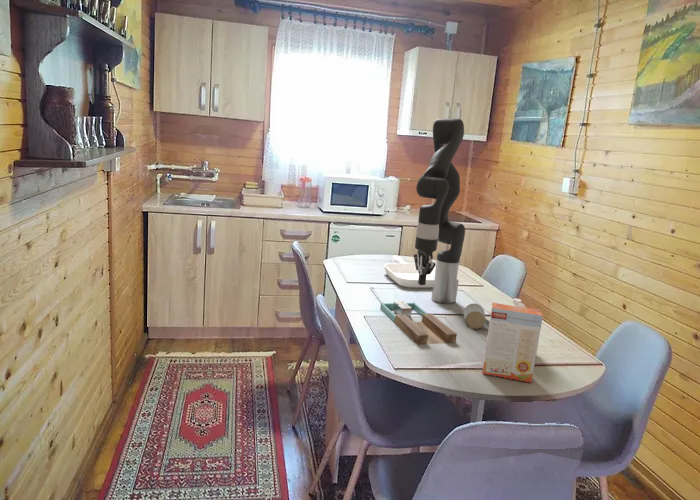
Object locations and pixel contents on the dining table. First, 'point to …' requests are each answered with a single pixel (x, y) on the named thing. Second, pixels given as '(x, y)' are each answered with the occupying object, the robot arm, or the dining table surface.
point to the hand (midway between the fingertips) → (421, 284)
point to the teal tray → (387, 309)
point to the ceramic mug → (475, 316)
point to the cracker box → (512, 342)
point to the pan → (407, 274)
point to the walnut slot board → (426, 329)
